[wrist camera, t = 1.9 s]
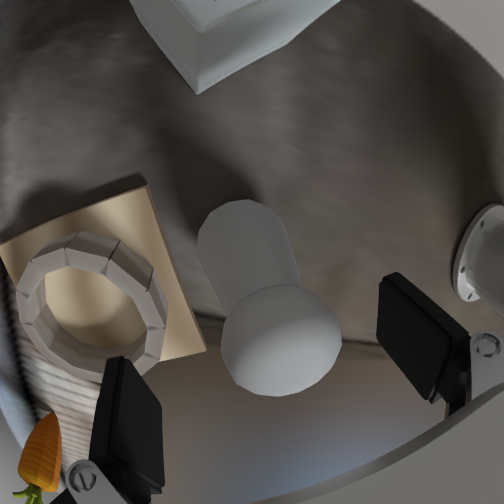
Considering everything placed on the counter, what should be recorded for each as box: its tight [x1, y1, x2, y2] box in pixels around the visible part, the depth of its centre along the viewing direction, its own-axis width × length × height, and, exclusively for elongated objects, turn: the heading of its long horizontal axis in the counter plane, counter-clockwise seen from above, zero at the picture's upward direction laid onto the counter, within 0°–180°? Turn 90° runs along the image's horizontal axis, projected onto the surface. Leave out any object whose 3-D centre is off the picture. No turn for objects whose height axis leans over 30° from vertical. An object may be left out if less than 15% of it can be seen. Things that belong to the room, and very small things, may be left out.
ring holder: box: [0, 185, 207, 383], centre depth 19 cm, size 14×14×4 cm
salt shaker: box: [196, 199, 342, 396], centre depth 15 cm, size 6×6×13 cm
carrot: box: [13, 412, 62, 504], centre depth 19 cm, size 5×5×15 cm
